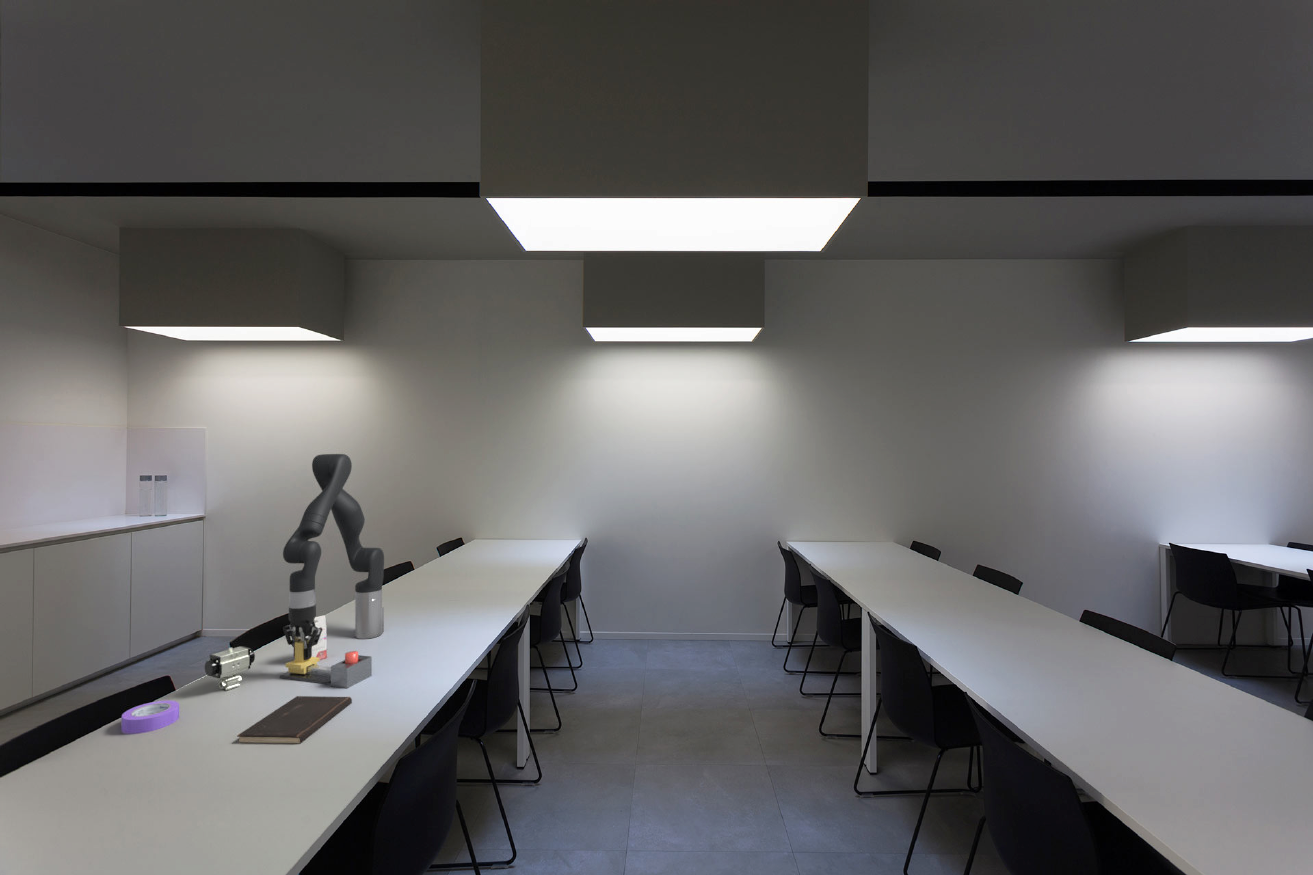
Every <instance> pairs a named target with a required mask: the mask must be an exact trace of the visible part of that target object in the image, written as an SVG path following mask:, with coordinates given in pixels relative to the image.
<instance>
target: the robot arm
mask: <svg viewBox="0 0 1313 875" xmlns="http://www.w3.org/2000/svg"><path fill="white" fill-rule="evenodd" d="M352 464H353V463H352V459H351V458H350V456H348V455H347V454H345V453H323V454H318V455H316V456H314V458H313V459H312V463H311V468H312V469H311V470H312V473H313V476H314V478H315V480H316V482H317V484H318V486H319V487H320V489H321V492H320V493H319V494H318V495H317V496H316V497H315V498H313V499H312V501H311V502H309V504H308V505H307V507H306V508H305V510H304V512H303V515H302V518H301V520H300V522H299V525H298V527H297V528H296V530H295V531H294V532H293V534H292V535H291V536H290V538H289V539H288V540H287V542H286V544H284V545H285V546H284V547H283V550H282V556H283V560H284V561H285V563H288V564H303V567H302V569H301V570H297V571H293V572H292V573H290V575H289V593H288V595H289V596H288V621H289V622H290V623H289V625H285V626H283V627H282V631H283V633H284V636H285V639H286V642H287V644H288V646H290V645H291V646H292V648H293V657H294V659H295V642H298V641H300V640H301V641H303V645H304V660H308V659H310V658H311V656H312V646H314V645H317V643H318V641H319V638H320V635H321V632H322V628H317V627H316V626H315V623H316V622H315V621H314V619H315V617H317V593H316V574H317V569H318V567H319V563H320V560H321V556H322V547H321V545H320V543H319V542H317V541H315V540H311V539H315V538H318V537H320V536H321V535H322V533H323V532H324V528H325V525H326V524H327V520H328V518H329V515H330V513H331V514H332V515H333V519H334V521H335V523H336V524H335V525H336V526H337V528H338V530H339V533H340V535H341V538H342V541H343V544H344V547H345V552H346V555H347V558H348V563H349V565H350V568H351V569H352V570H353V571H354V572H356V573H368V574H367V578H366V579H364V580H361V581H357V583H356V584H355V587H354V589H355V590H354V591H355V595H354V598H355V602H354V603H355V604H354V605H355V610H354V611H355V619H354V621H355V625H354V626H355V628H354V629H355V630H354V633H355V636H354V637H355V638H356V639H360V640H361V639H363V640H364V639H365V640H366V639H372V638H373V639H374V638H377V637H379V636H381V635H383V634H384V632H385V608H384V607H383V583H384V582H383V581H384V573H385V572H384V570H385V569H384V568H385V567H384V566H385V554H384V550H383V549H382V548H380V547H363V546H362V543H361V540H360V535H361V533H362V531H363V528H364V526H365V515H364V513H363V510H362V507H361V504H359V501H358V500H356V498H354V497H353V496H352V495H351V494H350V493H349V492H347V491H346V490H345V489H344V486H345V484H346V483H347V481H348V479H349V478H350V475H351V473H352V466H353V465H352ZM307 636H308V637H307ZM297 640H298V641H297ZM307 640H308V642H309V643H307Z"/></svg>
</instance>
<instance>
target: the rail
mask: <svg viewBox="0 0 1313 875" xmlns="http://www.w3.org/2000/svg"><path fill="white" fill-rule="evenodd" d="M279 678H280V679H284V680H293V681H302V682H309V683H316V684H323V685H331V666H326V665H318V664H317V665H310V666H307V667H306V673H305V674H298V673H290V672H288V671H286V672H284V673H281V674H279Z"/></svg>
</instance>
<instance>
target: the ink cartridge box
mask: <svg viewBox="0 0 1313 875" xmlns="http://www.w3.org/2000/svg"><path fill="white" fill-rule="evenodd" d="M315 621H316V622H315ZM326 621H327V620H326V616H325V614H323V615H320V616H316V617H315V619H314V623H315V626H316V627H317V628H322V632H321V635H320V638H319V641H318V643H317V645H314V646H312V656H311V657H319V661H320V660H324V659H327V657H328V656H327V655H328V654H327V650H328V649H327V648H328V646H327V645H328V644H327V622H326ZM307 637H308V636H307ZM297 641H298V640H297Z"/></svg>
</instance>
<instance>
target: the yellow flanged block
mask: <svg viewBox="0 0 1313 875" xmlns="http://www.w3.org/2000/svg"><path fill="white" fill-rule="evenodd" d="M307 643H309V642H308V640H307ZM319 662H320V660H319V657H311V658H310V659H308V660H304V645H303V641H301V640H300V641H298V642H295V658H294V659H293V660H291V661H289V662H286V663H285V668H288V669H287V670H288V671H287V672H290V673H298V674H305V673H306V667H307V666H310V665H318V663H319Z"/></svg>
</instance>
